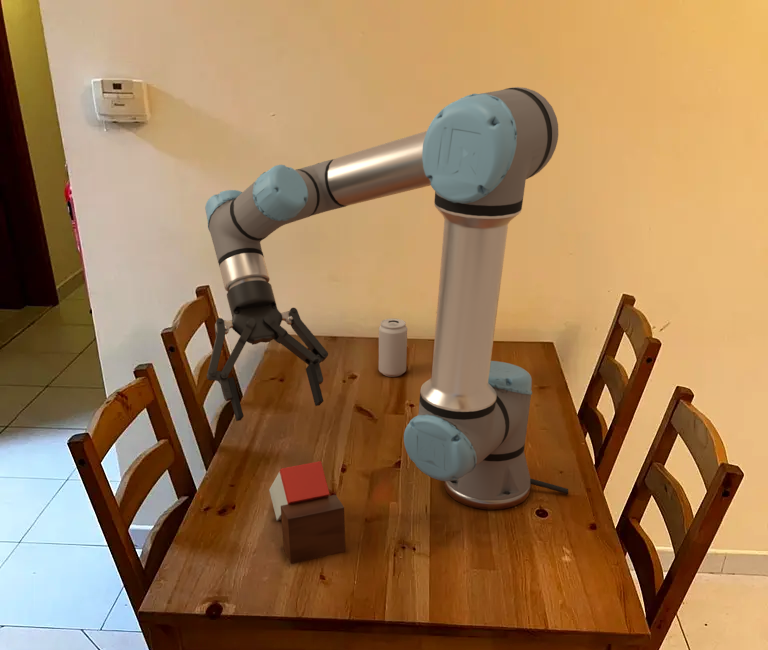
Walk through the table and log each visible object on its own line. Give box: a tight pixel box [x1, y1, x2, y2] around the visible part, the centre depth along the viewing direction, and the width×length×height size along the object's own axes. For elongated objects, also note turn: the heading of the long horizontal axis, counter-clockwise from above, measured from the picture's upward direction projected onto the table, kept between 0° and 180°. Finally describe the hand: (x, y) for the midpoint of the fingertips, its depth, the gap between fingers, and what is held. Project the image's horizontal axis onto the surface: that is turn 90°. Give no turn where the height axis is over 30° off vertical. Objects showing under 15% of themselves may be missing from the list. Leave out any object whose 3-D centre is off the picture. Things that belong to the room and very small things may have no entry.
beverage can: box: [378, 318, 408, 378], centre depth 186 cm, size 6×6×12 cm
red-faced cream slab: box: [269, 460, 330, 521], centre depth 133 cm, size 13×6×13 cm, turn 21°
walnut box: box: [281, 494, 346, 565], centre depth 129 cm, size 4×9×8 cm, turn 111°
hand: (280, 411), depth 134 cm, fingers open, 13 cm apart
